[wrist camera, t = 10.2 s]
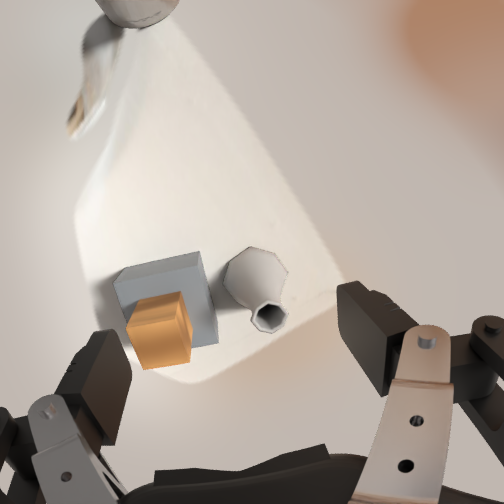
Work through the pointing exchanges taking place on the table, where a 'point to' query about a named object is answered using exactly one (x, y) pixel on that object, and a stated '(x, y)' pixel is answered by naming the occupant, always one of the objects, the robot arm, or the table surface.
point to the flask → (258, 287)
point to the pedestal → (168, 281)
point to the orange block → (161, 331)
